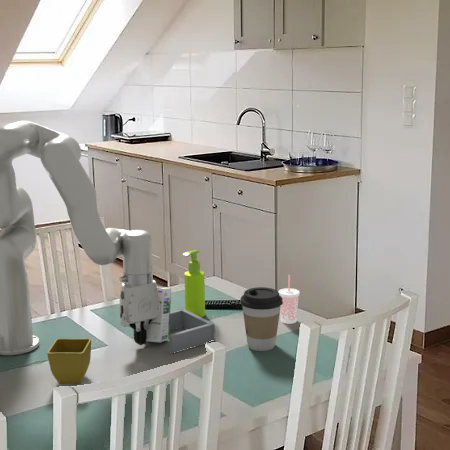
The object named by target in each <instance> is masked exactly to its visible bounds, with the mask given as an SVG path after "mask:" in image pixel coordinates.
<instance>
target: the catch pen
mask: <svg viewBox="0 0 450 450" xmlns="http://www.w3.org/2000/svg"><path fill="white" fill-rule="evenodd" d="M215 326H216V325H215V323H213V322H212V321H209V320H208V319H206V318H203V317H199V316H197V315H195V314H193V313H191V312H189V311H187V310H185V308H180V309H176V310H172V311H170V323H169V332H170V331H174V330H176V328H177V329H180V328H179V327H181V328H183V327H184V329H185V328H186V329H185V330H181V331H178V332H174V333H171V334H169V340H168V341H169V342H168V343H169V345H168V346H169V353H170V352H171V353H174V352H177V351H180V350H183V349H187V348H190V347H194V346H197V347H199V346H198V345H200V346H202V345H201V344H204V343H206V342H209V341H211V340H215V341H216V339H215V338H216V336H215V335H216V334H215V333H216V332H215V331H216V328H215ZM173 329H174V330H173ZM187 329H188V330H187ZM204 345H205V344H204ZM194 348H195V347H194ZM187 350H188V349H187ZM171 353H170V354H171ZM174 354H175V353H174Z"/></svg>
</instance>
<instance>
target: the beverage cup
mask: <svg viewBox="0 0 450 450" xmlns="http://www.w3.org/2000/svg"><path fill="white" fill-rule="evenodd" d="M287 276H288V277H287V278H288V279H287V281H288V282H287V284H288V285H287V287H286V288H285V287H284V288H281V289H279V290H277V291H278V292H279V295H280V296H281V297H282V299H283V300H282V301H283V304H282V305H281V307H280V315H279V316H280V322H281V323H283V324H287V325H290V324H295V323H297V320H298V307H299V296H300V290H298V289H296V288H291V275H290V274H288V275H287Z"/></svg>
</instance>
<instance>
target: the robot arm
mask: <svg viewBox="0 0 450 450" xmlns="http://www.w3.org/2000/svg"><path fill="white" fill-rule="evenodd" d="M26 154H27V155H30V156H33V157H35V158H38V159H40V162H41V164H42V166H43V168H44V170H45V172H46V173H47V175H48V177H49V178H50V180H51V181H52V184H53V185H54V187H55V189H56V190H57V192H58V194H59V196H60V197H61V199H62V201H63V203H64V205H65V207H66V213H67V215H68V218H69V221H70V225H71V227H72V230H73V232H74V233H73V234H74V235H75V237H76V239H77V241H78V242H79V244H80V246H81V247H82V249H83V251H84V252H85V254H86V256H87V257H88V259H89V260H91V261H92V262H93V263H94V264H96V265H98V266H108V265H110V264H112V263H113V262H115V260H116V259H117V258H118V257H119V256H122V267H123V272H122V276H119V282H121V287H120V293H119V317H120V319H121V321H120V325H121V326H122V327H124V328H131V329H132V330H133V341H134V342H135V343H136V344H137V345H138V346H143V345H146V344H147V341H146V339H147V334H146V330H147V329H148V326H149V324H150V323H151V321H153V320H155V318H156V317H158V316H159V315H160V301H159V294H158V289H157V287H158V284H157V282H156V280H155V279H154V278H153V273H154V272H153V244H152V242H153V241H152V234H151V233H150V232H149V231H148V230H146V229H145V230H144V229H130V230H127V229H121V228H117V227H107V228H105V226H104V225H103V223H102V220H101V217H100V214H99V211H98V205H97V204H98V201H97V200H98V199H97V190H96V187H95V185H94V184H93V182H92V180H91V179H90V177H89V176H88V173H87V172H86V170H85V168H84V167H83V164H82V163H81V161H80V160H81V157H82V149H81V146H80V143H79V142H78V141H77V140H76V138H73V137H72V136H70V135H68V134H65V133H62V132H60V131H56V130H54V129H52V128H49V127H46V126H44V125H42V124H41V125H40V124H39V123H35V122H33V121H30V120H18V121H15V122H11V123H7V124H5V125H2V126H0V356H17V355H18V356H19V355H23V354H27V353H29V352H31V351H32V352H33V351H34V350H36V349H37V348H38V347H39V346H40V338H39V337H38V336H36V335H34V334H33V333H34V332H33V320H32V318H33V317H32V308H31V307H32V306H31V296H30V284H29V277H28V276H29V275H28V272H27V269H26V268H27V267H26V264H25V260H26V259H27V258H29V257H30V255H31V254H32V253H33V252H34V251H35V248H36V245H37V233H36V225H35V217H34V209H33V202H32V199H31V197H30V195H29V193H28V192H27V191H26V190H25V189H24V188H23V187H20V186H18V185H17V180H16V179H17V178H16V177H17V176H16V173H15V170H14V167H13V161H14V160H15V159H17V158H19V157H21V156H25V155H26Z"/></svg>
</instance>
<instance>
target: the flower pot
mask: <svg viewBox="0 0 450 450" xmlns="http://www.w3.org/2000/svg"><path fill="white" fill-rule="evenodd" d="M46 354H47V360H48V364H49V368H50V371H51V374H52V376H53V377H54V379H55V380H56V381H57V383H59V384H62V385H65V384H69V383H79V384H81V383H82V382H83V380H84V378H85V376H86V374H87V372H88V368H89V366H90V363H91V356H92V355H91V354H92V338H56V339H55V340H54V342H53V343H52V345H51V346H50V348H49V349H48V350H47V352H46Z"/></svg>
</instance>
